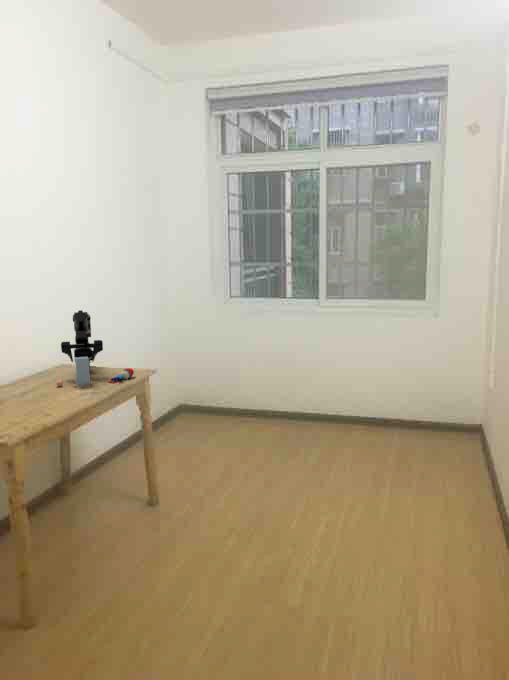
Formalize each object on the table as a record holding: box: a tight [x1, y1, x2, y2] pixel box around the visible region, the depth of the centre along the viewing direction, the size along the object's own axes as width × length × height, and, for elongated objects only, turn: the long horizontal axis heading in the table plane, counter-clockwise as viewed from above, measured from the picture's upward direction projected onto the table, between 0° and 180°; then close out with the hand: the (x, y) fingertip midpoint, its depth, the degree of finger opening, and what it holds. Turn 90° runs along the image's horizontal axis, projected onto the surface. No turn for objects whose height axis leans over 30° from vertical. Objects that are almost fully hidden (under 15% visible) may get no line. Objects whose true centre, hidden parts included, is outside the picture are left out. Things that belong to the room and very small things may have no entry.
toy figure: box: [107, 367, 134, 384], centre depth 260 cm, size 8×5×15 cm
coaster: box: [72, 381, 94, 388], centre depth 251 cm, size 9×9×1 cm
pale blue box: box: [74, 357, 91, 386], centre depth 250 cm, size 5×6×12 cm
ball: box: [55, 379, 64, 388], centre depth 248 cm, size 3×3×3 cm
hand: (82, 361), depth 257 cm, fingers open, 9 cm apart
